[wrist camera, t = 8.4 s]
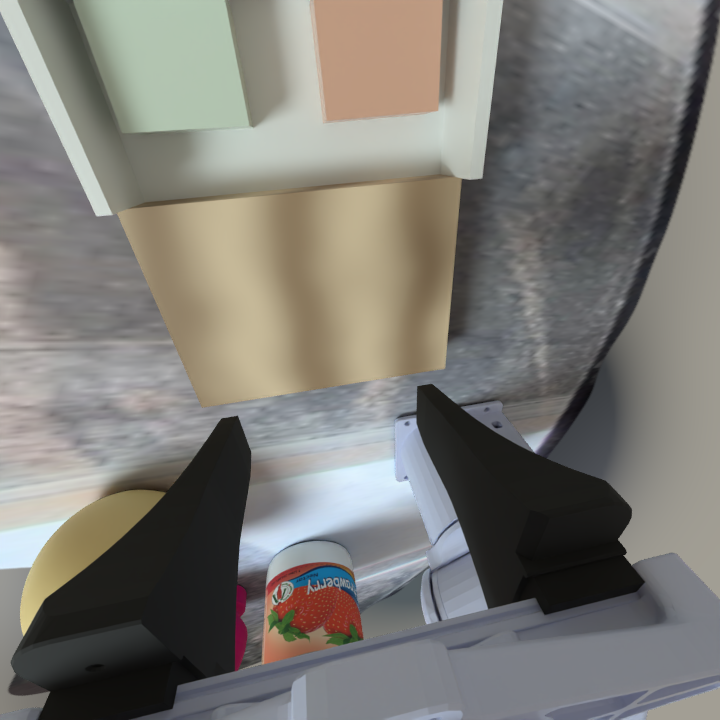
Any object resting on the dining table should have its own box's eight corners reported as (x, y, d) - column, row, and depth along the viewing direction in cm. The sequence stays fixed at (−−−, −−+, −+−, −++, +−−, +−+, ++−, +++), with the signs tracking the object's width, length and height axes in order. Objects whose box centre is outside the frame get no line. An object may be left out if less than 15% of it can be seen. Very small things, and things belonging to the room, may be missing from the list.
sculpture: (96, 560, 31) (17, 727, 22) (50, 475, 25) (-84, 659, 16) (226, 548, 34) (202, 693, 25) (214, 467, 27) (177, 623, 18)
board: (442, 173, 18) (461, 176, 16) (431, 349, 25) (444, 368, 23) (137, 202, 17) (115, 209, 15) (210, 383, 23) (201, 407, 21)
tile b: (249, 125, 14) (254, 127, 16) (222, -14, 12) (231, 7, 13) (122, 133, 13) (140, 134, 15) (68, -11, 11) (97, 9, 13)
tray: (461, -27, 14) (512, -80, 11) (447, 172, 18) (482, 178, 15) (47, -15, 13) (-40, -74, 9) (135, 202, 17) (96, 216, 13)
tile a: (438, 110, 15) (423, 114, 16) (443, -21, 13) (425, -2, 14) (326, 121, 14) (323, 123, 16) (311, -15, 12) (309, 5, 14)
